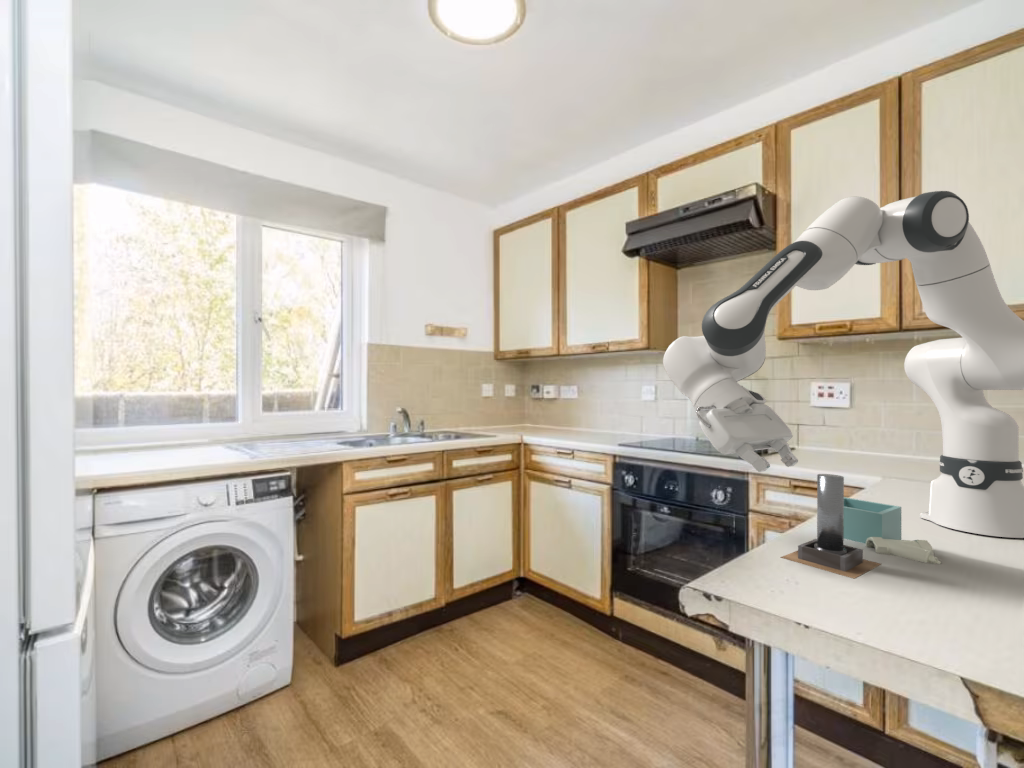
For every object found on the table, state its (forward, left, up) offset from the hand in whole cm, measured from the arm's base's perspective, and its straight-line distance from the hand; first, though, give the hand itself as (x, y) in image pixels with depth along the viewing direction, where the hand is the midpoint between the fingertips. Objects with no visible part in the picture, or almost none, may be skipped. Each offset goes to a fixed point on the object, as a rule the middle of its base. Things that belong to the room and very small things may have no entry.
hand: (779, 466), depth 80 cm
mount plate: (0, +8, -15) cm, 17 cm away
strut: (0, +8, -13) cm, 15 cm away
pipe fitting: (-13, +13, -15) cm, 24 cm away
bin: (-19, +5, -15) cm, 25 cm away
